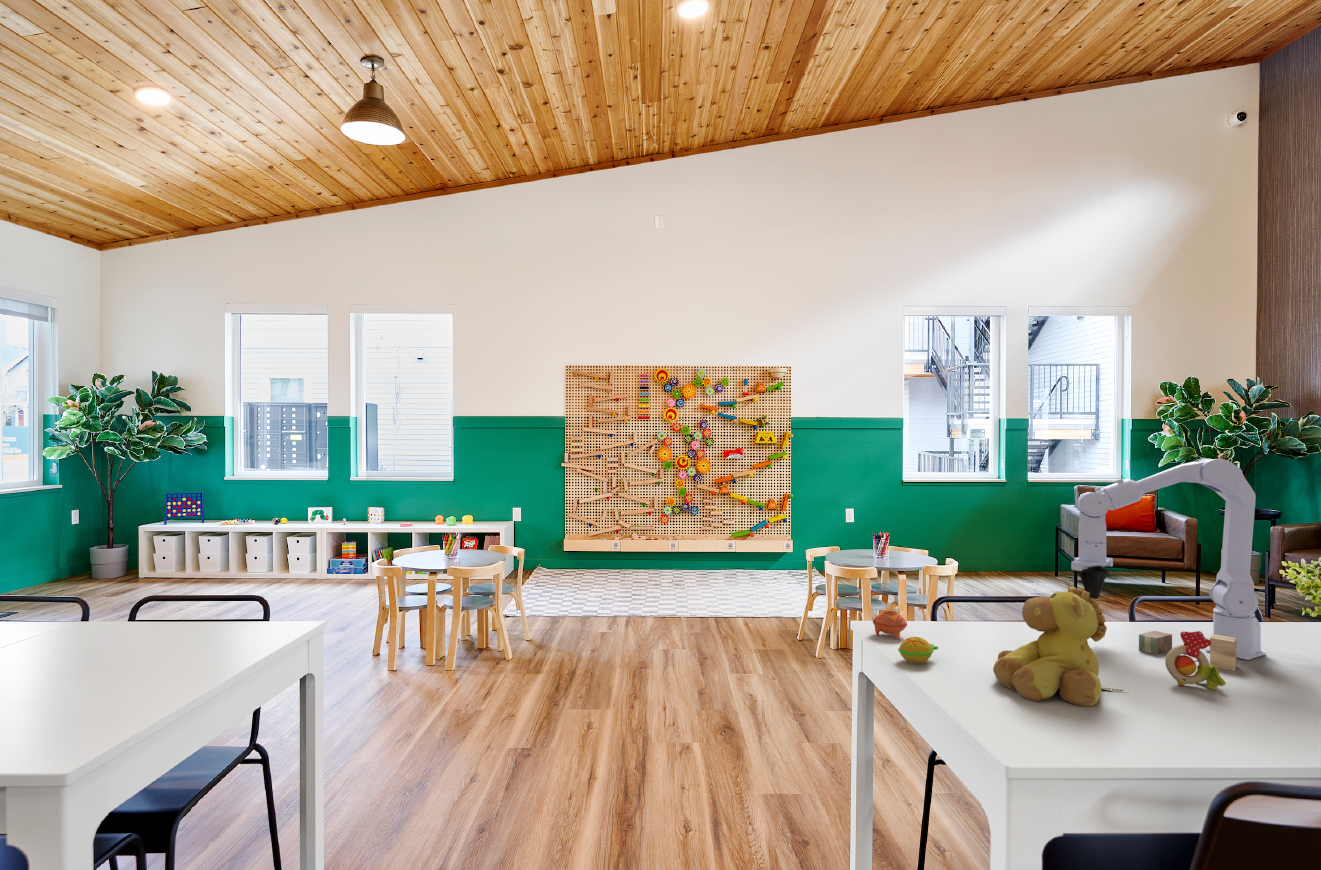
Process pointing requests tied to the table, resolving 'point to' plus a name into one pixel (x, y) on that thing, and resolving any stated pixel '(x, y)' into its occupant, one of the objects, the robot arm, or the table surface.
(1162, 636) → the walnut block
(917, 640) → the yellow green oval toy
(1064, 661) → the giraffe plush
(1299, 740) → the table surface
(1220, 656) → the oak block
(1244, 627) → the robot arm
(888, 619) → the pot
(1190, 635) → the bird rattle
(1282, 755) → the table surface
